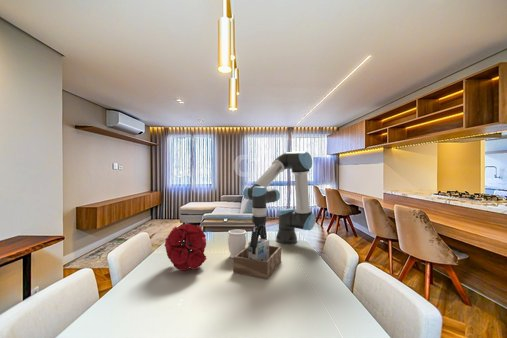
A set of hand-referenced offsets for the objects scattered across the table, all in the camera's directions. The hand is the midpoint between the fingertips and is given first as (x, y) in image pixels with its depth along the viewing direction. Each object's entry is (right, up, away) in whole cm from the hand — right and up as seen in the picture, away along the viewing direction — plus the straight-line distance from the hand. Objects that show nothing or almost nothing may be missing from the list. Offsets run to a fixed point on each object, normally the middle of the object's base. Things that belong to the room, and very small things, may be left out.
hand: (258, 256), depth 125 cm
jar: (-13, -6, +14) cm, 20 cm away
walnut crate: (0, -6, 0) cm, 6 cm away
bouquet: (-37, -5, 0) cm, 38 cm away
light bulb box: (0, -3, 0) cm, 3 cm away
